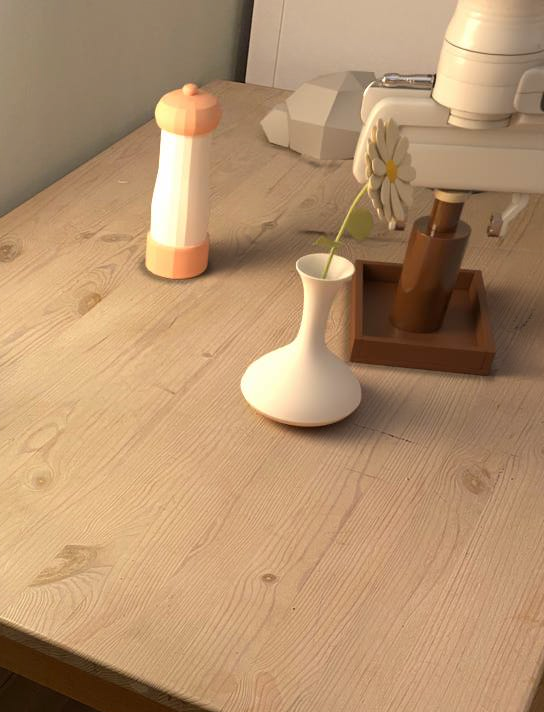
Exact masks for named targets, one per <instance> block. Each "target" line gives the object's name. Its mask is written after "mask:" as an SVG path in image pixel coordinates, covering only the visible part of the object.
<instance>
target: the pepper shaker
mask: <svg viewBox="0 0 544 712" xmlns="http://www.w3.org/2000/svg"><path fill="white" fill-rule="evenodd" d="M222 113H223V112H222V106H221V103H220V101H219V99H218V98H217V97H216V95H214V94H212V93H210V92H209V91H206V90H203V89H200V88H198V86H197V84H195V83H186V84H184V85H183V87H182V88H179V89H175V90H173V91H170V92H168V93H166V94H164V95H162V97H161V98H160V100H159V101H158V103H157V104H156V107H155V111H154V117H155V121H156V124H157V126H158V127H159V128H160V130H161V131H160V132H161V134H160V145H159V146H160V149H159V163H158V171H157V176H156V181H155V185H154V189H153V194H152V199H151V200H152V201H151V210H150V211H151V215H150V218H151V219H150V229H149V231H148V232H147V233H146V248H145V249H146V250H145V267H146V269H147V270H148V271H149V272H151V273H152V274H154V275H156V276H159V277H162V278H167V279H172V280H173V279H175V280H177V279H178V280H179V279H180V280H183V279H189V278H194V277H196V276H200V275H201V274H203V273H204V272H205V271H206V269H207V268H208V261H209V252H210V243H211V238H210V237H211V236H210V233H209V231H208V230H209V229H208V228H209V222H210V214H211V185H210V164H211V162H210V161H211V152H212V144H213V143H212V141H213V131H215V130H216V129H217V128H218V126H219V125H220V122H221V120H222V117H223V114H222Z"/></svg>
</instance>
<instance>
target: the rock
mask: <svg viewBox="0 0 544 712" xmlns="http://www.w3.org/2000/svg"><path fill="white" fill-rule="evenodd" d="M376 79H377V77H376V74H375V72H374V71H365V70H344V71H338V72H333V73H326V74H320V75H318V76H315V77H314V78H312V79H309V80H307V81H306V82H305V83H303V84H302V85H301V86H300V87H299V88H298V89H296V90H295V91H294V92H293V93H292V94H291V95H290V96H288V97H287V98H286V99H285V102H281V103H277V104H275V106H273V107H272V108H271V109H270V110H269V111H268V112H267V113H266V114H265V115H264V116H263V118H262V119H261V120H260V122H259V123H260V125H261V127H262V129H263V132H264V134H265V135H266V138H267V139H268V142H269V143H271V144H274V145H278V146H281V147H285V148H289V149H290V150H293V151H295V152H297V153H298V154H303V155H305V156H308V157H311V158H313V159H316V160H318V161H335V160H336V161H337V160H338V161H340V160H350V159H354V155H355V151H356V147H357V144H358V140H359V137H360V133H361V130H362V127H363V123H362V121H361V118H360V107H361V102H362V97H363V93H364V91H365V89H366V88H367V86H368V85H369V84H370V83H371V82H373V81H374V80H376ZM376 86H380V85H379V84H377V85H376Z"/></svg>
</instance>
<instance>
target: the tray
mask: <svg viewBox="0 0 544 712" xmlns="http://www.w3.org/2000/svg"><path fill="white" fill-rule="evenodd" d="M353 265H354V267H355V272H354V274H353V275H352V276H351V279H350V305H349V306H350V308H349V311H350V312H349V349H348V351H349V355H348V357H349V358H348V361H349V362H351V363H363V364H369V365H380V366H390V367H399V368H400V367H401V368H409V369H410V368H411V369H419V370H429V371H438V372H449V373H458V374H459V373H460V374H469V375H477V376H489V373H490V370H491V367H492V364H493V362H494V358H495V356H496V354H497V351H496V345H495V340H494V335H493V329H492V328H493V327H492V323H491V317H490V313H489V307H488V300H487V295H486V289H485V283H484V277H483V271H482V270H481V269H470V268H468V269H467V268H460V271H459V274H458V277H457V280H456V283H455V287H454V290H453V293H452V296H451V300H450V303H449V306H448V309H447V312H446V316H445V319H444V322H443V325H442V327H441V328H440V329H438V330H437V331H434V332H430V333H413V332H408V331H405V330H402V329H400V328H398V327H396V326H395V325H393V324H392V323H391V321H390V319H389V314H390V310H391V307H392V303H393V299H394V295H395V291H396V288H397V284H398V280H399V276H400V272H401V269H402V265H403V262H401V263H400V262H389V261H378V260H377V261H376V260H368V259H367V260H366V259H355V262H354V264H353Z"/></svg>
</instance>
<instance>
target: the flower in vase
mask: <svg viewBox="0 0 544 712" xmlns="http://www.w3.org/2000/svg"><path fill="white" fill-rule="evenodd" d="M397 135H398V126H397V123H396V122H395V121H394V120H393V119H392V118H390V119H389V120H388V121H385V122H384V123H383V120H382V119H381V118H380V119H378V121H377V124H376V126H373V127H372V131H371V139H370V138H368V140H367V150H368V152H366V153H365V163H366V165H367V168H366V178H367V180H368V183H367V184H364V186H363V188H362V189H361V190H360V192H359V194H358V195H357V197H356V198H355V199H354V201H353V203H352V205H351V206H350V208H349V209H348V212H347V214H346V216H345V218H344V221H343V223H342V225H341V227H340V230H339V232H338V234H337V236H336V238H335V240H331V239H329V238H327V236H324V235H322V234H321V235H320V236H319V237H318V239H317V240H316V241H315V242H313V243H312V245H313V246H318V247H324V248H330V249H331V250H330V252H329V253H323V252H322V253H321V252H320V253H319V252H318V253H311V254H310V253H309V254H307V255H304V256H302V257H300V258H299V259H298V260H297V261H296V263H295V268H296V270H297V273H298V274H299V276H300V278H301V281H302V285H303V294H304V295H303V297H304V298H303V312H302V318H301V323H300V328H299V331H298V333H297V335H296V337H295V339H294V340H293V341H292V342H290V343H289V344H287V345H284V346H282V347H279V348H277V349H275V350H272V351H270V352H268V353H266V354H264V355H263V356H260V357H259V358H258V359H256V360H255V361H253V362H252V363H251V364H249V366H248V367H247V369H246V370H245V372H244V373H243V376H242V377H241V380H240V389H241V393H242V394H243V397H244V398H245V400H246V401H247V403H248V404H249V406H250V407H251V408H252V409H253V410H254V411H255V412H257V413H258V414H260V415H261V416H264V417H266V418H267V419H270V420H272V421H274V422H278V423H280V424H285V425H290V426H296V427H320V426H327V425H330V424H331V425H332V424H335V423H338V422H340V421H342V420H344V419H345V418H347V417H348V416H350V415H351V414H352V413H353V412H354V411H355V410H356V409H357V408H358V407H359V405H360V403H361V401H362V388H361V383H360V380H359V378H358V377H357V375H356V374H355V373H354V372H353V370H352V368H350V366H349V365H348V364H347V363H346V362H344V360H342V359H341V358H340V357H339V356H338V355H336V354H335V353H334V352H332V350H330V348H329V347H328V346H327V344H326V328H327V324H328V320H329V315H330V312H331V309H332V307H333V303H334V301H335V298H336V296H337V294H338V292H340V289H341V288H342V286H343V285H344V284H345V283H346V282H347V281H348V280H349V279H350V278H352V275H353V274H354V272H355V267H354V265H355V264H353V263H352V262H351V261H350V260H349V259H347V258H345V257H342V256H340V255H337V254H335V253H336V250H337V248H339V247H342V246H343V245H345V244H346V243H345V242H343V241H340V240H342V239H341V238H342V237H343V234H344V232H345V230H346V228H347V230H348V232H349V234H350V235H351V237H352V238H353V239H354V240H355V241H358V242H359V241H363V240H364V239H366V238H367V237H368V236H369V235H370V234H371V233H372V231H373V229H374V225H375V219H374V217H373V215H372V213H371V212H370V211H368V210H367V209H365V208H363V207H357V206H358V204H359V203H360V201H361V199H362V198H363V197H364V195H365V194H366V192H367V194H368V197H369V199H371V203H372V205H373V207H374V209H375V210H376V211H377V216H378V217H379V219H380V220H384V218H385V219H386V220H387V222H388V223H389V222H391V221H392V219H393V220H394V221H395V222H397V221H398V220H400V221H403V220H404V211H403V207H404V206H403V205H405V207H408V209H410V208H413V206H414V199H413V196H414V193H415V192H414V191H415V190H414V187H412V185H411V184H410V182H411V181H413V180H415V178H416V170H415V168H414V167H412V166H410V164H411V161H412V158H411V155H410V154H409V153H407V150H408V148H409V140H408V138H407V137H403V138H401V136H400V135H398V136H397ZM356 207H357V208H356Z"/></svg>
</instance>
